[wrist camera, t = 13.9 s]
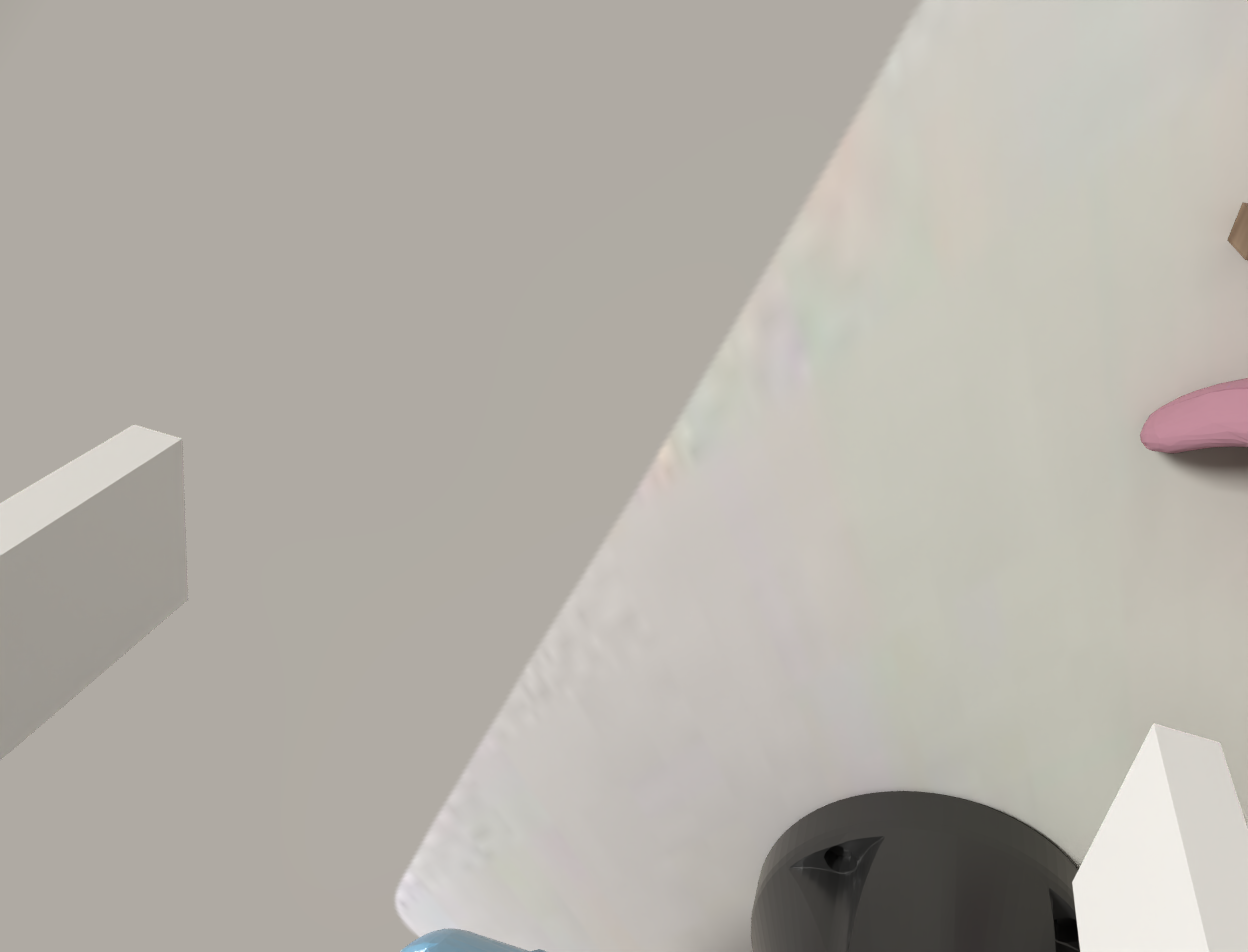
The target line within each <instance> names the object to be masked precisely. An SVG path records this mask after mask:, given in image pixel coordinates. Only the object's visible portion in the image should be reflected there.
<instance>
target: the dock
mask: <svg viewBox="0 0 1248 952" xmlns="http://www.w3.org/2000/svg"><path fill="white" fill-rule="evenodd" d="M1228 241H1229V242H1230V243H1231V245H1232V246H1233V247H1234V248H1235V249H1236V250H1237V251H1238V252H1239V253H1240V254H1241V255H1242V257H1243V258H1244V259H1245V260H1248V204H1247V203H1242V206H1241V208H1240V211H1239V213H1238V216H1237V218H1236V220H1235V223H1234V225H1233V228H1232V230H1231V233H1230V235H1229V237H1228Z"/></svg>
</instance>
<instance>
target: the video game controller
mask: <svg viewBox="0 0 1248 952" xmlns="http://www.w3.org/2000/svg"><path fill="white" fill-rule="evenodd" d="M1140 437H1141V442H1142V443H1143V444H1144V446H1145V447H1146V448H1147V449H1149V450H1152V451H1158V452H1166V453H1178V452H1184V451H1190V450H1198V449H1205V448H1212V447H1232V446H1238V447H1248V378H1246V379H1241V380H1236V381H1231V382H1226V383H1221V384H1217V385H1214V386H1210V387H1207V388H1204V389H1200V390H1197V391H1194V392H1192V393H1189V394H1186V395H1184V396H1181V397H1179V398H1177V399H1175V400H1174V401H1172V402H1170V403H1168V404H1166V405H1164V406H1162V407H1161V408H1159V409H1158V410H1156V411H1155V412H1154V413H1152V414H1151V415H1150V416H1149V418H1148V420H1147V421H1146V422H1145V424H1144V426H1143V428H1142V431H1141V434H1140Z"/></svg>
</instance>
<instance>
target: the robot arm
mask: <svg viewBox="0 0 1248 952" xmlns="http://www.w3.org/2000/svg"><path fill="white" fill-rule="evenodd" d="M182 444H183V443H182V439H181V438H178V437H175V436H171V435H168V434H164V433H161V432H158V431H154V430H151V429H148V428H144V427H141V426H137V425H132V426H131V427H129V428H127V429H126V430H124V431H122V432H121V433H119V434H117V435H115V436H114V437H112V438H110V439H109V440H107V441H105V442H103V443H102V444H100V445H99V446H97V447H95V448H93V449H92V450H90V451H88V452H87V453H85V454H83V455H81V456H80V457H78V458H76V459H75V460H73V461H71V462H69V463H68V464H66V465H64V466H63V467H61V468H59V469H58V470H56V471H54V472H53V473H51V474H49V475H47V476H46V477H44V478H42V479H41V480H39V481H37V482H35V483H34V484H32V485H30V486H29V487H27V488H25V489H24V490H22V491H20V492H18V493H17V494H15V495H13V496H12V497H10V498H8V499H7V500H5V501H3V502H2V503H0V760H1V759H2V758H3V757H5V756H6V755H7V754H8V753H9V752H11V751H12V750H13V749H14V748H15V747H16V746H18V745H19V744H20V743H21V742H22V741H23V740H25V739H26V738H27V737H28V736H29V735H30V734H32V733H33V732H34V731H35V730H36V729H37V728H39V727H40V726H41V725H42V724H43V723H44V722H46V721H47V720H48V719H49V718H50V717H51V716H53V715H54V714H55V713H56V712H57V711H58V710H59V709H61V708H62V707H63V706H64V705H65V704H67V703H68V702H69V701H70V700H71V699H73V698H74V697H75V696H76V695H77V694H78V693H80V692H81V691H82V690H83V689H84V688H85V687H86V686H88V685H89V684H90V683H91V682H92V681H94V680H95V679H96V678H97V677H98V676H99V675H101V674H102V673H103V672H104V671H105V670H106V669H107V668H109V667H110V666H111V665H112V664H113V663H115V662H116V661H117V660H118V659H119V658H120V657H122V656H123V655H124V654H125V653H126V652H128V651H129V650H130V649H131V648H132V647H133V646H135V645H136V644H137V643H138V642H139V641H140V640H142V639H143V638H144V637H145V636H146V635H147V634H149V633H150V632H151V631H152V630H153V629H154V628H156V627H157V626H158V625H159V624H160V623H161V622H163V621H164V620H165V619H166V618H167V617H168V616H170V615H171V614H172V613H173V612H174V611H175V610H177V609H178V608H179V607H180V606H181V605H182V604H184V603H185V602H186V601H187V600H188V587H187V586H188V585H187V558H186V529H185V500H184V473H183V445H182ZM751 940H752V948H753V952H1248V828H1247V825H1246V822H1245V819H1244V815H1243V812H1242V809H1241V806H1240V803H1239V800H1238V797H1237V794H1236V790H1235V787H1234V784H1233V781H1232V778H1231V775H1230V772H1229V769H1228V765H1227V762H1226V759H1225V756H1224V753H1223V750H1222V747H1221V744H1220V742H1217V741H1213V740H1210V739H1206V738H1203V737H1200V736H1196V735H1193V734H1189V733H1186V732H1183V731H1179V730H1176V729H1172V728H1169V727H1165V726H1162V725H1159V724H1155V723H1153V725H1152V727H1151V729H1150V731H1149V733H1148V735H1147V737H1146V739H1145V741H1144V743H1143V745H1142V747H1141V749H1140V751H1139V753H1138V755H1137V757H1136V758H1135V760H1134V762H1133V764H1132V766H1131V768H1130V770H1129V772H1128V774H1127V776H1126V778H1125V780H1124V782H1123V784H1122V786H1121V788H1120V790H1119V792H1118V794H1117V796H1116V798H1115V800H1114V802H1113V803H1112V805H1111V807H1110V809H1109V811H1108V813H1107V815H1106V817H1105V819H1104V821H1103V823H1102V825H1101V827H1100V829H1099V831H1098V833H1097V835H1096V837H1095V839H1094V841H1093V843H1092V845H1091V847H1090V849H1089V850H1088V852H1087V854H1086V856H1085V858H1084V860H1083V862H1082V864H1081V866H1080V868H1079V870H1078V869H1077V868H1076V867H1075V866H1074V864H1073V863H1072V862H1071V861H1070V860H1069V859H1068V858H1067V857H1066V856H1065V855H1064V854H1063V853H1062V852H1061V851H1060V850H1059V849H1058V848H1057V847H1056V846H1054V845H1053V844H1052V843H1051V842H1049V841H1048V840H1047V839H1046V838H1044V837H1043V836H1042V835H1040V834H1039V833H1037V832H1036V831H1034V830H1033V829H1031V828H1030V827H1028V826H1026V825H1025V824H1023V823H1021V822H1019V821H1018V820H1016V819H1014V818H1012V817H1010V816H1008V815H1006V814H1003V813H1001V812H999V811H997V810H994V809H992V808H989V807H986V806H984V805H981V804H978V803H975V802H971V801H968V800H964V799H960V798H956V797H951V796H946V795H941V794H934V793H925V792H911V791H891V792H878V793H870V794H864V795H859V796H854V797H850V798H846V799H843V800H839V801H837V802H834V803H831V804H828V805H826V806H824V807H822V808H819V809H817V810H815V811H814V812H812V813H810V814H808V815H807V816H805V817H803V818H802V819H800V820H799V821H798V822H796V823H795V824H794V825H792V826H791V827H790V828H789V829H788V830H787V831H786V832H785V833H784V834H783V835H782V836H781V837H780V838H779V839H778V841H777V842H776V843H775V845H774V846H773V847H772V849H771V851H770V852H769V854H768V856H767V858H766V860H765V862H764V864H763V867H762V870H761V873H760V878H759V882H758V887H757V891H756V896H755V901H754V906H753V910H752V918H751ZM400 952H530V951H527V950H524V949H521V948H518V947H515V946H512V945H509V944H506V943H503V942H499V941H496V940H493V939H490V938H487V937H484V936H481V935H478V934H475V933H472V932H469V931H465V930H460V929H442V930H437V931H433V932H430V933H428V934H426V935H424V936H422V937H420V938H418V939H416V940H415V941H413V942H412V943H410V944H409V945H408V946H406V947H405V948H404V949H402V950H401V951H400ZM531 952H547V951H544V950H540V949H538V950H534V951H531Z"/></svg>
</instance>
